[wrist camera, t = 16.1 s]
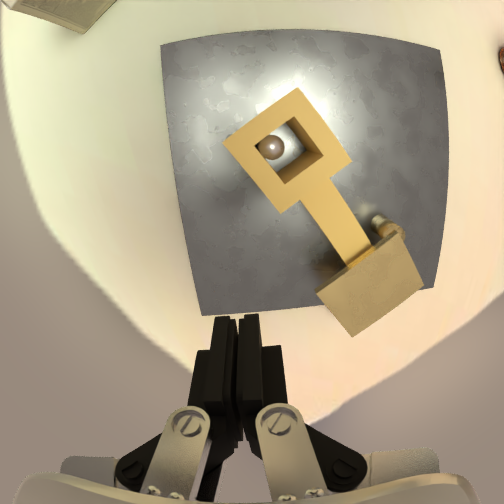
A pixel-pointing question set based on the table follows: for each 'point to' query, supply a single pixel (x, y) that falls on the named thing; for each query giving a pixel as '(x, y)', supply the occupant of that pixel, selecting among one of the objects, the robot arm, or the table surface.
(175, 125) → the pintle board
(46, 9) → the skincare box
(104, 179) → the table surface
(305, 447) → the robot arm
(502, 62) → the sauce bottle
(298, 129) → the link
